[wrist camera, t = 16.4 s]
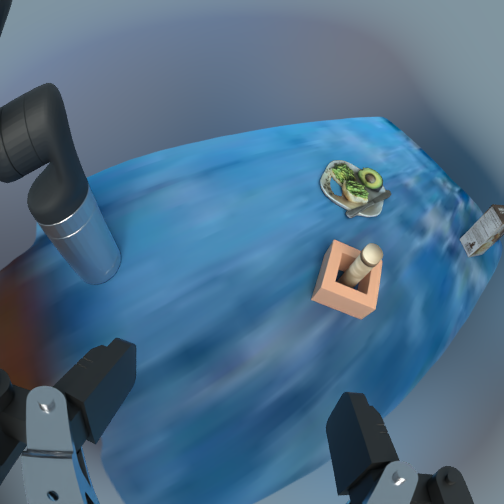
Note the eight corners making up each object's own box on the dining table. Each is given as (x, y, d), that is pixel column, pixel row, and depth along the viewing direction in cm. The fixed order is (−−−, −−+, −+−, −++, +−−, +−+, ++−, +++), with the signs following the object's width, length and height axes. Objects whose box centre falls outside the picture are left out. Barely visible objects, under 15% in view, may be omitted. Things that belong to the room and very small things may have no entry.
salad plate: (376, 240, 54) (386, 227, 50) (305, 199, 57) (311, 185, 54) (389, 191, 64) (397, 179, 60) (332, 159, 67) (337, 146, 63)
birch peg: (333, 290, 46) (363, 256, 36) (337, 276, 48) (366, 239, 38) (348, 297, 46) (382, 264, 36) (352, 282, 48) (384, 247, 37)
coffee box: (473, 237, 61) (504, 204, 47) (482, 255, 58) (515, 223, 44) (458, 238, 59) (492, 203, 45) (468, 258, 56) (504, 224, 42)
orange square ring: (311, 299, 45) (321, 287, 41) (324, 254, 50) (334, 239, 46) (361, 319, 44) (375, 309, 40) (370, 273, 49) (382, 260, 45)
